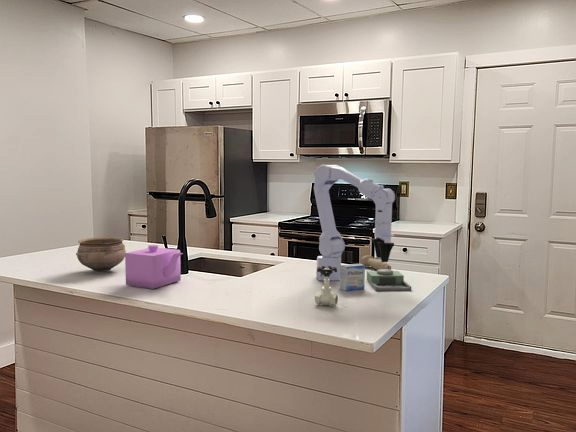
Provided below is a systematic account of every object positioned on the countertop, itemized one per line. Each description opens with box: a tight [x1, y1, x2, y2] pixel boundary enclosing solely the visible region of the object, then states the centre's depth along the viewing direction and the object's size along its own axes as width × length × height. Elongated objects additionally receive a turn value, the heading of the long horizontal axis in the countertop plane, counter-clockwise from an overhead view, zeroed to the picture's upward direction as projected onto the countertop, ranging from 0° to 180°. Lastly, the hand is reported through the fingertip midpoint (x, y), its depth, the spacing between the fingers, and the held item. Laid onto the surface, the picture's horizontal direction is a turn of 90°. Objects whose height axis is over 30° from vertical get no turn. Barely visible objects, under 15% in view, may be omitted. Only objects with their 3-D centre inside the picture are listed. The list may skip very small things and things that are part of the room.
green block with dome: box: [366, 269, 405, 285], centre depth 192 cm, size 12×8×4 cm
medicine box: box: [339, 263, 366, 292], centre depth 182 cm, size 8×4×9 cm, turn 115°
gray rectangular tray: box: [370, 280, 412, 292], centre depth 184 cm, size 13×9×2 cm
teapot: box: [124, 244, 184, 290], centre depth 189 cm, size 15×25×14 cm, turn 63°
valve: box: [314, 266, 339, 307], centre depth 160 cm, size 7×7×12 cm
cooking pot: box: [75, 236, 127, 272], centre depth 211 cm, size 25×19×12 cm
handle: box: [360, 254, 392, 271], centre depth 215 cm, size 5×6×15 cm
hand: (382, 259), depth 185 cm, fingers open, 7 cm apart
